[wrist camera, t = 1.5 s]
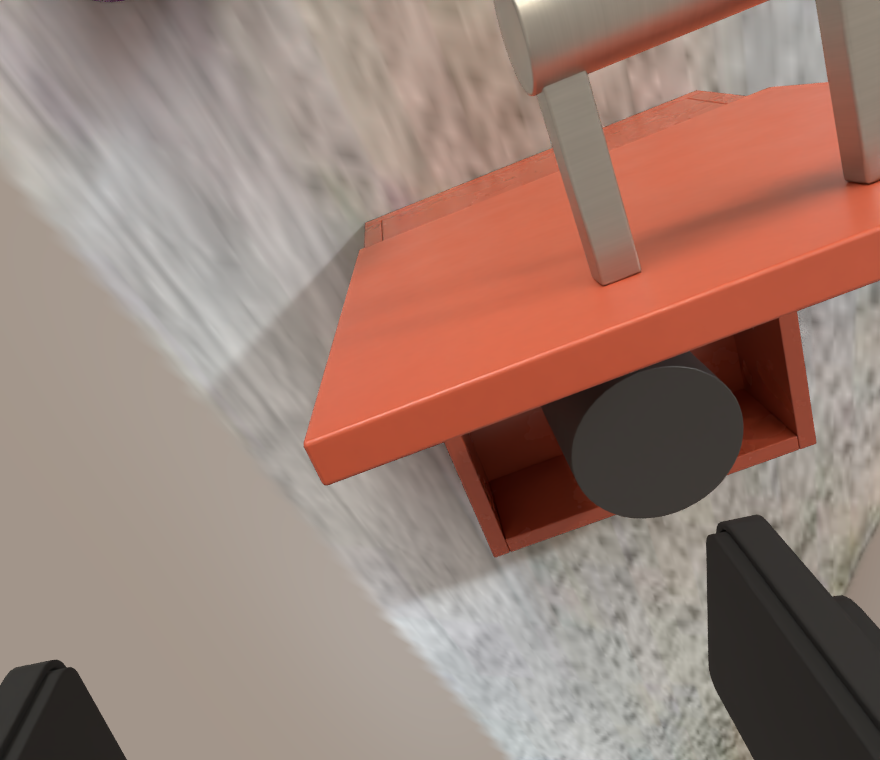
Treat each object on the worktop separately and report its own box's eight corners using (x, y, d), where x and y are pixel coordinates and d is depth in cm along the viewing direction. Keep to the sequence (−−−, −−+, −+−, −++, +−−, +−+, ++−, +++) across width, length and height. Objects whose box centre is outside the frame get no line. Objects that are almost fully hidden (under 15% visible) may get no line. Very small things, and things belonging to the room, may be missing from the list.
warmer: (753, 388, 37) (817, 443, 32) (477, 489, 38) (494, 558, 33) (696, 90, 30) (765, 97, 25) (364, 222, 31) (362, 256, 26)
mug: (668, 385, 35) (756, 484, 27) (545, 430, 36) (596, 541, 28) (626, 219, 31) (715, 276, 23) (489, 272, 32) (530, 346, 24)
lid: (1395, 91, 9) (1462, -467, 7) (323, 488, 10) (126, 100, 8) (774, 109, 25) (740, -69, 23) (367, 270, 26) (300, 113, 24)
